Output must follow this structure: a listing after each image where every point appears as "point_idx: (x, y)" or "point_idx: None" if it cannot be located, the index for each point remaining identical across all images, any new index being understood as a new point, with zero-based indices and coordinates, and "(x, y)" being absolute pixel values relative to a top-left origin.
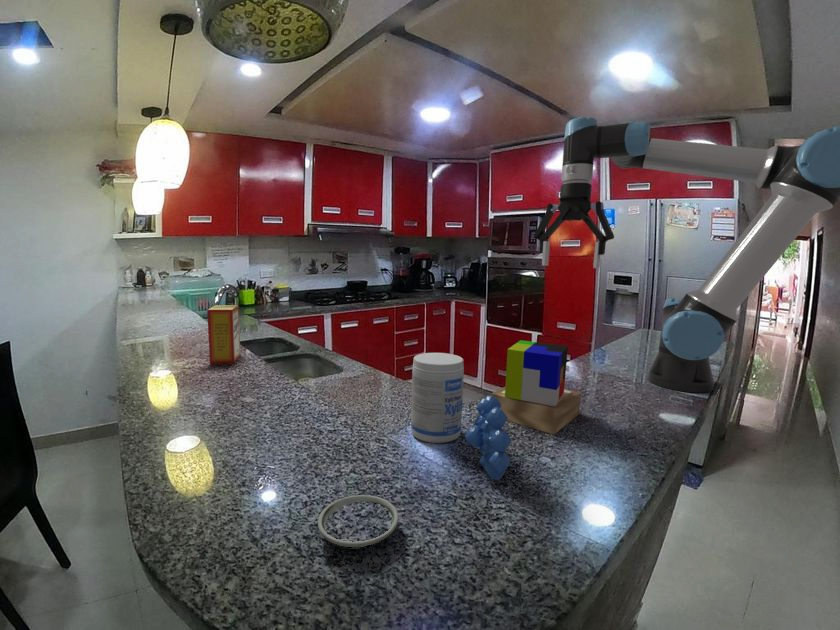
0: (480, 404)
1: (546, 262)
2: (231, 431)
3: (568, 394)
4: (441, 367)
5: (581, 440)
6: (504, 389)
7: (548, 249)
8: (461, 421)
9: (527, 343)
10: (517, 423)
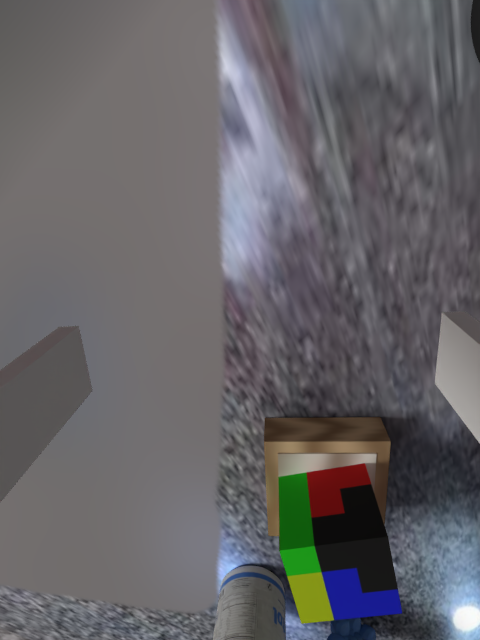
0: None
1: (75, 369)
2: None
3: (375, 467)
4: None
5: (412, 501)
6: (274, 509)
7: (13, 403)
8: (280, 594)
9: (306, 565)
10: None
